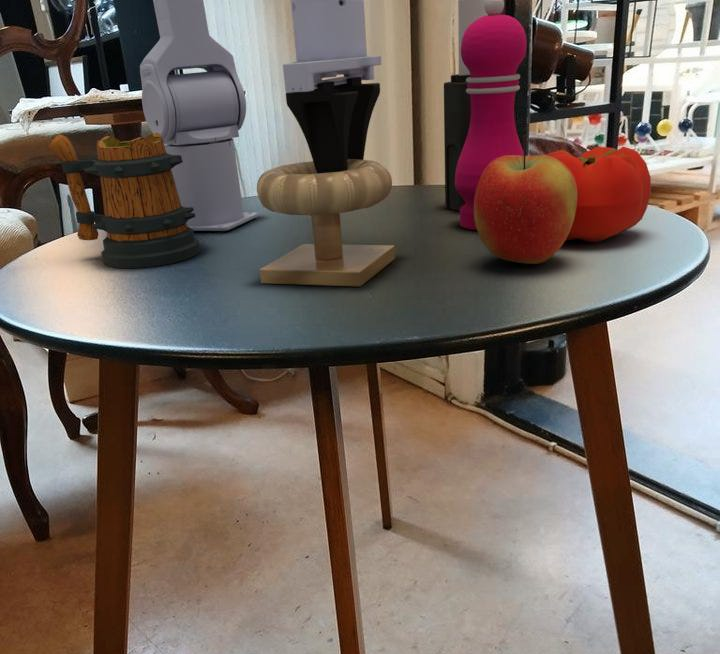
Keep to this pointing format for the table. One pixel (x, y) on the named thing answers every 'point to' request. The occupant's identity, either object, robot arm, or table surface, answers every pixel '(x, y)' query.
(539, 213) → the apple
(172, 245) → the mug
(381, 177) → the ring
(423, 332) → the table surface
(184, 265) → the table surface
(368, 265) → the peg stand
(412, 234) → the table surface
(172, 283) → the table surface
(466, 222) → the pepper mill
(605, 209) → the tomato
